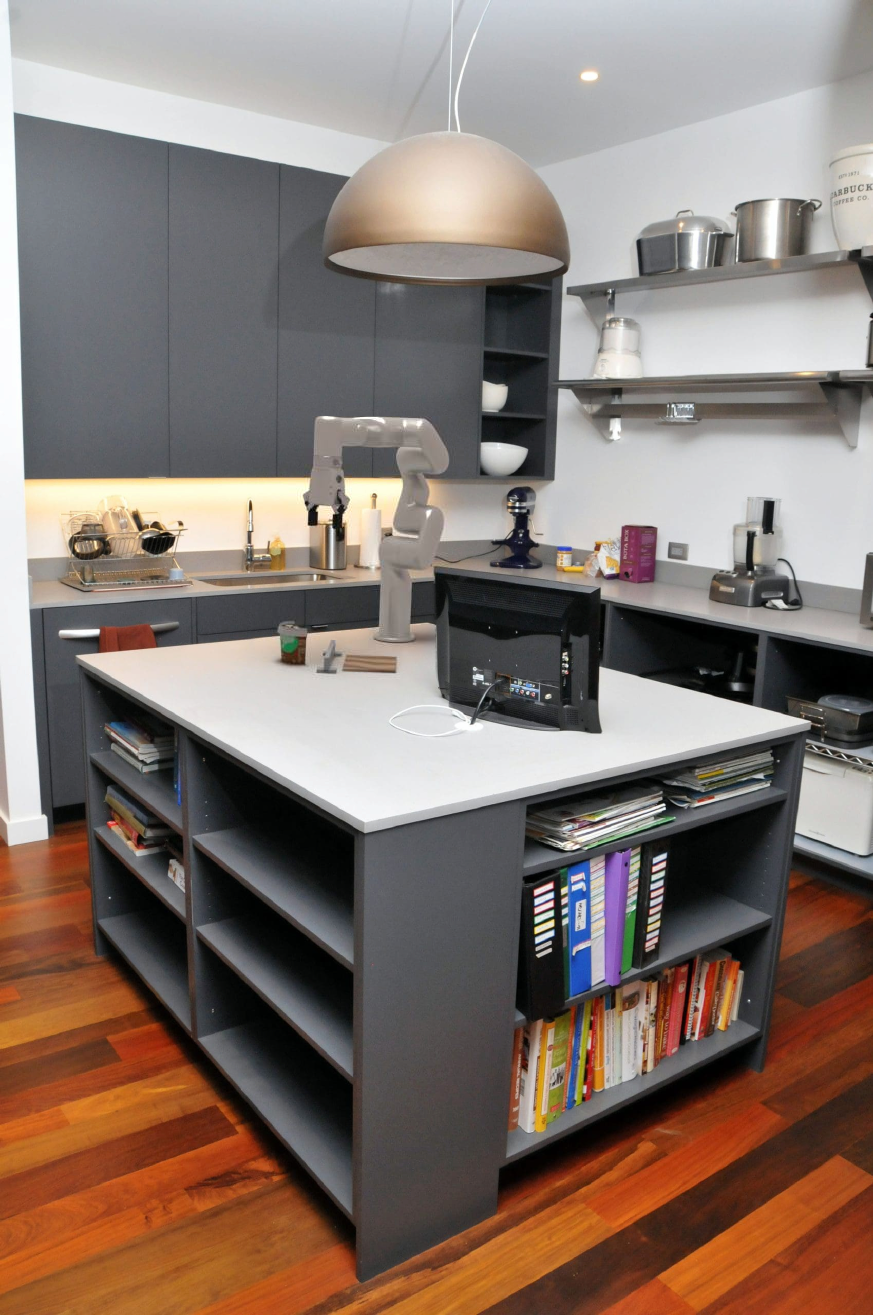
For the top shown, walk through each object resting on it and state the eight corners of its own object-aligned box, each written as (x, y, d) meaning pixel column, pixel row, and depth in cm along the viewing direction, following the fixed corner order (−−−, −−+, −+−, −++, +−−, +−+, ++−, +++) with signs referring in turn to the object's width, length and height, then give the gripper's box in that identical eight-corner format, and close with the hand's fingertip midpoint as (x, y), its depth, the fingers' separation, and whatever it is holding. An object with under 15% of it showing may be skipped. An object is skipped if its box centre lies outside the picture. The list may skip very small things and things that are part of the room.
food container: (271, 657, 275) (272, 621, 273) (293, 656, 278) (293, 620, 276) (284, 666, 264) (285, 629, 262) (306, 665, 267) (307, 628, 265)
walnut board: (346, 656, 280) (346, 654, 280) (396, 658, 281) (396, 656, 281) (342, 670, 263) (342, 668, 263) (395, 673, 263) (395, 670, 263)
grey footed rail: (323, 653, 283) (324, 639, 282) (341, 654, 283) (342, 640, 282) (316, 672, 259) (316, 657, 259) (335, 673, 260) (336, 658, 259)
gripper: (359, 465, 267) (356, 529, 270) (315, 462, 278) (313, 524, 281) (339, 464, 261) (336, 530, 265) (295, 461, 272) (293, 524, 275)
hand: (324, 527), depth 273 cm, fingers open, 9 cm apart
